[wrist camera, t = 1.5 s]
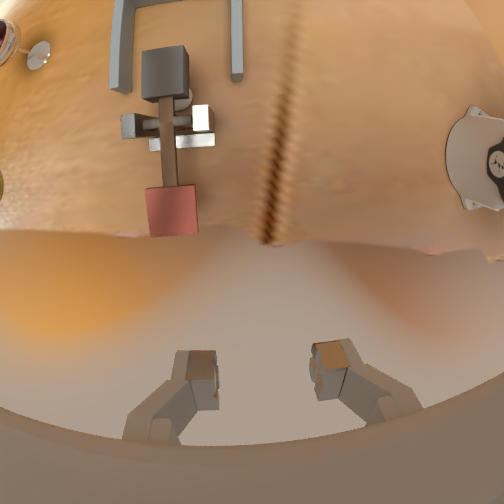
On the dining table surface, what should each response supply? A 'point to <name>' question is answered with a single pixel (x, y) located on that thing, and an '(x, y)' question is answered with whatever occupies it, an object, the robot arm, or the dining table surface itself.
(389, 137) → the dining table surface
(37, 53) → the wineglass
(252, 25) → the dining table surface
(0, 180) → the canned food
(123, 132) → the stand
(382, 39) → the dining table surface
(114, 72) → the grey u-shaped bracket
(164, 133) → the lever
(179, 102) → the ball
